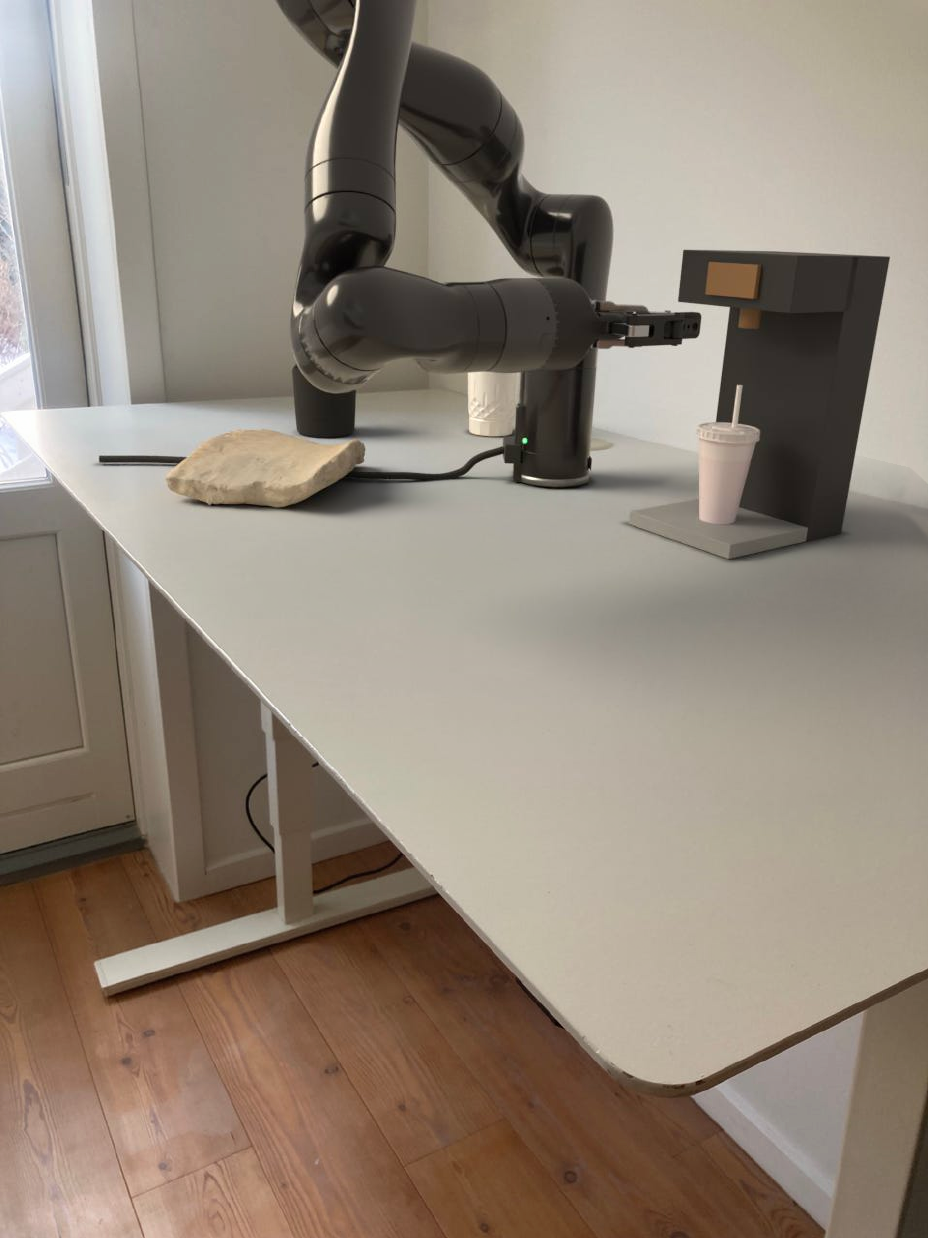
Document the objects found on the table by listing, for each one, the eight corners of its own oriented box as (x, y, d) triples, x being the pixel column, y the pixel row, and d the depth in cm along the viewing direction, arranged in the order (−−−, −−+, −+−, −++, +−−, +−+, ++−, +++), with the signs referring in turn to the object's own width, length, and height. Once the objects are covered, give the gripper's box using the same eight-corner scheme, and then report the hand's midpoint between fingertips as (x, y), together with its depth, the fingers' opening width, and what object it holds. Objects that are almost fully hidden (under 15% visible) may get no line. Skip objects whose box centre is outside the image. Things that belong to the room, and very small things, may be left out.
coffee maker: (728, 559, 97) (769, 254, 87) (628, 524, 107) (654, 248, 97) (841, 533, 107) (890, 256, 96) (739, 503, 117) (773, 251, 107)
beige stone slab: (389, 474, 129) (244, 448, 132) (394, 417, 126) (246, 392, 129) (327, 531, 107) (156, 500, 110) (331, 464, 104) (155, 434, 107)
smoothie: (749, 530, 101) (769, 391, 96) (685, 524, 102) (701, 387, 97) (746, 513, 107) (764, 382, 102) (686, 508, 108) (701, 378, 103)
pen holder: (369, 431, 151) (369, 364, 147) (329, 441, 143) (328, 370, 140) (321, 424, 155) (320, 358, 152) (281, 433, 148) (278, 364, 144)
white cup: (500, 439, 148) (503, 371, 144) (455, 433, 152) (457, 366, 148) (525, 431, 154) (529, 366, 151) (482, 425, 158) (484, 361, 154)
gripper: (584, 283, 76) (728, 282, 85) (476, 273, 87) (613, 273, 95) (577, 383, 79) (717, 372, 87) (473, 361, 89) (607, 353, 98)
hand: (662, 320), depth 91 cm, fingers open, 8 cm apart
